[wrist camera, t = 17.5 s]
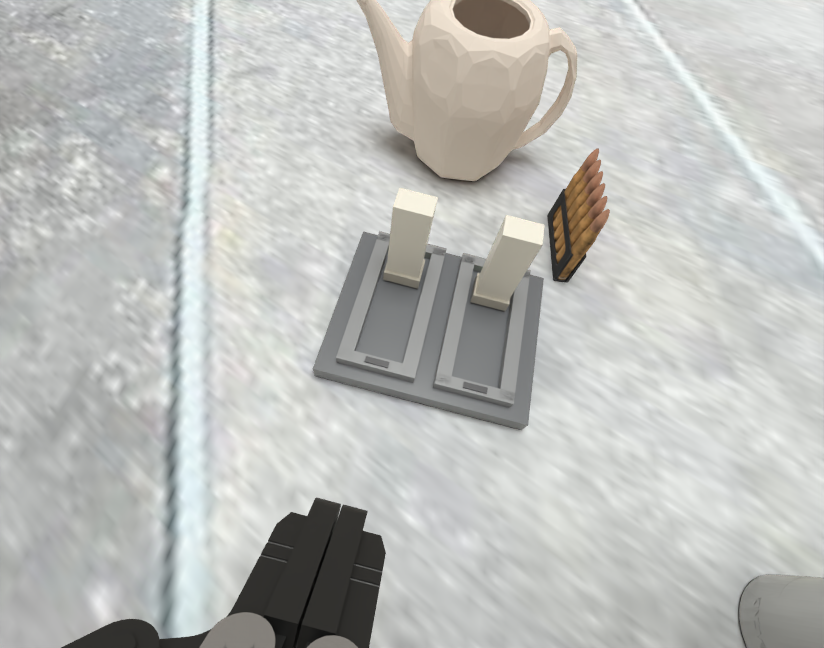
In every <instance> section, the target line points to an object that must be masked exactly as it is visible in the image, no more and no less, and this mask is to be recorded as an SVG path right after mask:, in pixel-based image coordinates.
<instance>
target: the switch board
mask: <svg viewBox="0 0 824 648" xmlns="http://www.w3.org/2000/svg"><path fill="white" fill-rule="evenodd" d="M389 241H390V234H388V233H384V232H380V231H379V234H378V235H375V234H371V233H367V232H363V234H362V237H361V239H360V242H359V245H358V248H357V250H356V253H355V256H354V258H353V261H352V264H351V267H350V269H349V272H348V275H347V277H346V280H345V283H344V286H343V288H342V291H341V294H340V297H339V299H338V302H337V305H336V307H335V310H334V313H333V316H332V318H331V321H330V324H329V326H328V329H327V332H326V335H325V337H324V340H323V343H322V345H321V348H320V351H319V354H318V356H317V359H316V362H315V365H314V367H313V371H314V375H315V376H317V377H321V378H325V379H328V380H332V381H336V382H340V383H344V384H348V385H351V386H355V387H359V388H363V389H367V390H370V391H374V392H378V393H382V394H386V395H390V396H393V397H397V398H401V399H405V400H409V401H412V402H416V403H420V404H424V405H428V406H432V407H435V408H439V409H443V410H447V411H451V412H455V413H458V414H462V415H466V416H470V417H474V418H477V419H481V420H485V421H489V422H493V423H497V424H500V425H504V426H508V427H512V428H516V429H519V430H522V429H523V428H525V427H526V426H527V425H528V420H529V410H530V401H531V392H532V382H533V373H534V364H535V354H536V345H537V335H538V326H539V317H540V307H541V298H542V288H543V279H544V278H541V277H537V276H533V275H530V270H527V271H526V273H525V274H524V276H523V278H522V279H521V281H520V283H519V284H518V286H517V287H516V289H515V291H514V292H513V294H512V296H511V297H510V303H509V306H508V307H507V309H506V310H505V311H503V310H499V309H495V308H491V307H487V306H483V305H479V304H476V303H472V302H470V301H471V295H472V290H473V285H474V280H475V278H476V276H477V273H480V272H481V270H482V268H483V266H484V263H485V261H486V259H485V258H481V257H477V256H473V255H469V254H465V253H463V255H462V257H460V256H456V255H452V254H448V253H446V248H442V247H438V246H435V245H431V244H427V247H426V251H425V256H424V259H425V264H424V268H423V272H422V275H421V279H420V283H419V287H418V289H417V288H413V287H410V286H406V285H402V284H398V283H394V282H390V281H386V280H383V276H384V270H385V267H386V264H387V260H388V250H389Z"/></svg>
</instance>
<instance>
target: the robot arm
mask: <svg viewBox="0 0 824 648" xmlns="http://www.w3.org/2000/svg"><path fill="white" fill-rule="evenodd" d="M340 507H341V504H339V503H335V502H331V501H328V500H324V499H320V498H315V500H314V502H313V505H312V507H311V509H310V511H309V514H308V516H304V515H300V514H297V513H293V512H291V513H290V514H288V515H287V516H286V517H285V518H283V519H282V520H281V521H280V522H279V523H277V524H276V526H275V528H274V530H273V532H272V534H271V536H270V538H269V540H268V543H267V544H266V545H265V547H264V549H263V551H262V553H261V556H260V557H259V559H258V561H257V563H256V565H255V567H254V568H253V570H252V572H251V574H250V576H249V578H248V580H247V582H246V584H245V586H244V588H243V589H242V591H241V593H240V595H239V597H238V599H237V601H236V603H235V605H234V607H233V608H232V610H231V612H230V613H229V614H228V616H227V617H226V618H224V619H222V620H221V621H220V622H218V623H217V624H216V625H215V626H214V627H213V628H212V629H211V630H209V631H207V632H204V633H202V634H199V635H195V636H190V637H181V638H169V639H159V636H158V633H157V631H156V630H155V628H154V627H153V626H152V625H151V624H149V623H147V622H145V621H142V620H138V619H126V620H120V621H117V622H113V623H111V624H109V625H106V626H104V627H102V628H100V629H98V630H96V631H94V632H92V633H90V634H88V635H86V636H84V637H82V638H80V639H78V640H76V641H74V642H72V643H70V644H68V645H66V646H64V647H62V648H369V644H370V638H371V632H372V627H373V621H374V616H375V610H376V604H377V599H378V593H379V587H380V582H381V576H382V570H383V565H384V559H385V554H386V552H385V548H384V545H383V541H382V538H381V536H380V535H377V534H373V533H369V532H365V531H363V527H364V523H365V519H366V515H367V511H366V510H362V509H358V508H355V507H351V506H347V505H343V506H342V508H341V511H340ZM339 512H340V514H339ZM338 516H339V517H338ZM739 617H740V625H741V631H742V635H743V638H744V640H745V643H746V646H747V648H824V578H819V577H807V576H790V575H769V574H767V575H763V576H759V577H757V578H756V579H754V580H752V581H751V582H750V583H749V584H748V586H747V587H746V588H745V590H744V592H743V595H742V597H741V602H740V607H739Z"/></svg>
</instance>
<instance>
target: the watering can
mask: <svg viewBox="0 0 824 648" xmlns="http://www.w3.org/2000/svg"><path fill="white" fill-rule="evenodd" d="M357 2H358V4H359V5H360V7H361V9H362V11H363V13H364V14H365V16H366V19H367V22H368V25H369V28H370V31H371V34H372V37H373V40H374V43H375V47H376V50H377V53H378V57H379V63H380V68H381V73H382V78H383V83H384V89H385V94H386V99H387V104H388V109H389V115H390V120H391V123H392V124H393V126H394V127H395V128H396V130H397V131H398V132H399V133H401V134H403V135H404V136H406V137H408V138H410V139H411V140H413V141H414V143H415V149H416V153H417V156H418V158H419V159H420V160H422V161H423V162H424V163H425V164H426V165H427V166H428V167H429V168H431V169H432V170H433V171H434V172H435V173H436V174H438V175H439V176H440V177H442V178H450V179H458V180H467V181H476V180H478V179H479V178H481V177H482V176H484V175H486V174H487V173H489V172H490V171H492V170H493V169H495V168H497V167H498V166H499V165H500V164H501V163H502V161H503V160H504V159H505V158H506V157H507V155H508V154H509V153H510V152H511V150H514V149H518V148H521V147H523V146H525V145H526V144H528V143H530V142H531V141H533V140H535V139H536V138H538V137H539V136H541V135H543V134H544V133H546V132H547V130H548V129H549V128H550V127H551V126H552V125H553V124H554V123H555V121H556V120H557V119H558V118H559V117H560V116H561V115H562V113H563V111H564V109H565V108H566V106H567V104H568V102H569V100H570V98H571V96H572V92H573V88H574V84H575V81H576V77H577V51H576V47H575V46H574V44H573V43H572V41H571V40H570V38H569V37H568V35H567V34H566V33H565V32H564V31H563V30H562V29H561V28H560V27H559V28H555V29H549V26H548V23H547V21H546V18H545V16H544V14H543V13H542V12H541V11H540V9H539V8H538V7H537V6H536V5H535V4H533V3H532V2H531V1H530V0H431V1H430V2H429V3H428V4H427V6H426V7H425V8H424V10H423V12H422V14H421V16H420V18H419V20H418V23H417V25H416V28H415V30H414V34H413V40H412V41H410V42H409V43H408V42H407V41H405V40H404V39H403V38H402V37H401V35H400V34H399V32H398V31H397V29H396V28H395V26H394V25H393V23H392V22H391V20H390V19H389V17H388V16H387V14H386V13H385V11H384V10H383V9H382V7H381V6H380V5H379V3H378V2H377V1H376V0H357ZM559 50H561V51H563V52H564V53H566V56H567V59H568V72H567V76H566V79H565V83H564V86H563V88H562V90H561V92H560V94H559V96H558V98H557V100H556V101H555V103H554V104H553V105H552V106H551V108H550V109H549V110H548V111H547V113H546V114H545V115H544V116H543V118H542V119H541V120H540V121H539V122H538V123H536V124H535V125H533V126H532V127H530V128H529V129H528V130H526V131H525V132H523V131H524V129H525V128H526V126H527V124H528V122H529V121H530V119H531V117H532V115H533V114H534V112H535V110H536V108H537V107H538V105H539V102H540V98H541V94H542V90H543V85H544V81H545V77H546V73H547V67H548V58H549V56H550V54H551V53H554V52H556V51H559Z"/></svg>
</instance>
